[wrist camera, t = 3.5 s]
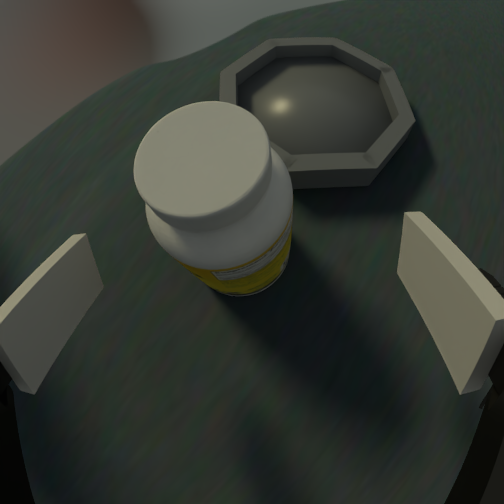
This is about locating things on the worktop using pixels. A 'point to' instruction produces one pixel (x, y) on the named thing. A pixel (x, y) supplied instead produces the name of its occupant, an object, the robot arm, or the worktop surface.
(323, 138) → the octagonal tray
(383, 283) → the worktop surface
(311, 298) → the worktop surface
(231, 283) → the pill bottle
